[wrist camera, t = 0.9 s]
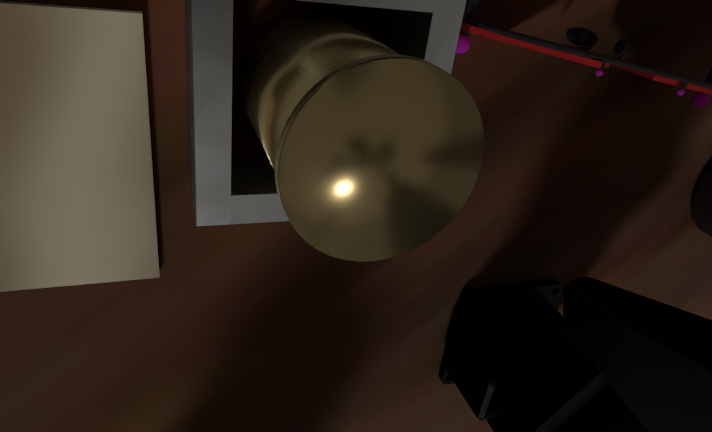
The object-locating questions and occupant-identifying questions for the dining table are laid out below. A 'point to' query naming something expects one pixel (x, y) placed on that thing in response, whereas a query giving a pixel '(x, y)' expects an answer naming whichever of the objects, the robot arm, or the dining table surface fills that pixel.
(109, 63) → the coaster
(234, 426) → the dining table surface
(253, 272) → the dining table surface
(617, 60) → the glasses
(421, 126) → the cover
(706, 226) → the bottle
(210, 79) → the housing
